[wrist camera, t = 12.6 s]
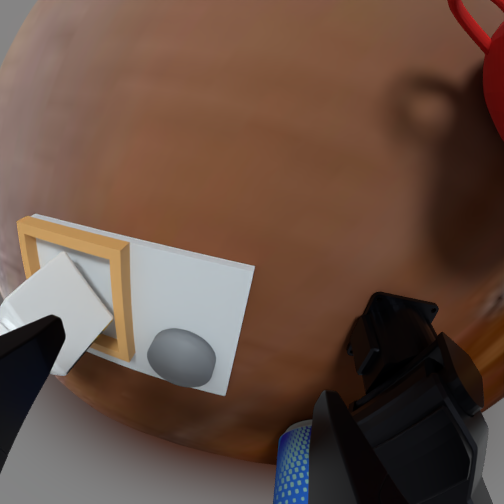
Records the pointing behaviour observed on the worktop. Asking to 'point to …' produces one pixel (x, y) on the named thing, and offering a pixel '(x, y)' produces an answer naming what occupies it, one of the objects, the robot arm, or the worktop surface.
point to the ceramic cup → (487, 60)
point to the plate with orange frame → (152, 300)
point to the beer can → (293, 465)
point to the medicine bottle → (58, 308)
